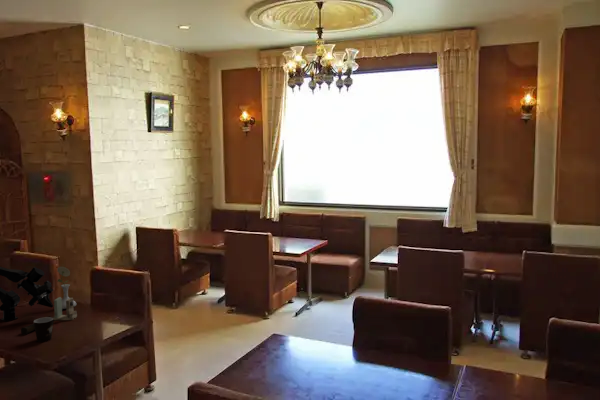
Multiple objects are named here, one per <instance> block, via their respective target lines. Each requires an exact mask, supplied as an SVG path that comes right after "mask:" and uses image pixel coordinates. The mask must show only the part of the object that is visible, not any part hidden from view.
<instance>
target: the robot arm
mask: <svg viewBox="0 0 600 400" xmlns="http://www.w3.org/2000/svg"><path fill="white" fill-rule="evenodd" d="M44 275H45V271H44V270H42V269H40V268H37V267H36V266H34V267H32V268H31V270H30V271H28V272H27V271H25V270H23V269H10V268H7V267H3V266H0V276H2V277H4V278H6V279H7V280H8V281H10V282H13V283H16V284H17V286H16V287H17V289H20V288H22V289H23V290H25V291H26V292H27V296H31V297H32V298H31V299H30V300H29V301H28V305H29V306H30V307H33V306H34V305H35V303H36V302H37V303H36V305H41V306H45V307H48V308H53V307H54V303H52V301H51V299H50V295H51V293H53V291H54V289H53V288H52V282H50V281H49V280H46V281H44V283H43V284H42V285H40V284H36V283H38V282H39V280H41V278H43V276H44ZM0 301H1V303H2V304H1V305H0V311H1V312H2V315H3V316H2V318H0V320H1V321H4V322H10V321H14V320H17V319H19V317H18V316H16V308H15V307H17V306H18V304H19V303H20V302H21V297H20V295H19V293H16V292H15V291H14V290H10V291H7V290H6V289H4V288H2V286H1V287H0Z"/></svg>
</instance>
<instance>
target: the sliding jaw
mask: <svg viewBox="0 0 600 400" xmlns="http://www.w3.org/2000/svg"><path fill="white" fill-rule="evenodd" d="M53 307H54V316H55V318H58V317H60V316H61V315H63V309H62V297H61V296H59V297H57V298H55V299H53Z"/></svg>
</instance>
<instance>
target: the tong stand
mask: <svg viewBox="0 0 600 400" xmlns="http://www.w3.org/2000/svg"><path fill="white" fill-rule="evenodd" d="M73 300H74V297H69V299H68V300H66V309H65V311H66V312H65V313H66V314H62V315H61V316H60V317H58V318H55V315H53V316H51V317H52V318H53V320H54V321H73V320H75V319H76V318H77V317H78V313H77V310H74V307H73ZM74 318H75V319H74Z"/></svg>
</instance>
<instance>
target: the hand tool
mask: <svg viewBox="0 0 600 400" xmlns="http://www.w3.org/2000/svg"><path fill="white" fill-rule="evenodd" d="M48 317H50V318H52V317H53V316H48ZM34 331H35V326H34V323H32V324H30V325H27V326H25V327H21V328H20V333H21V335H24V336H25V335H28V334H30V333H31V332H34Z"/></svg>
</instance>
